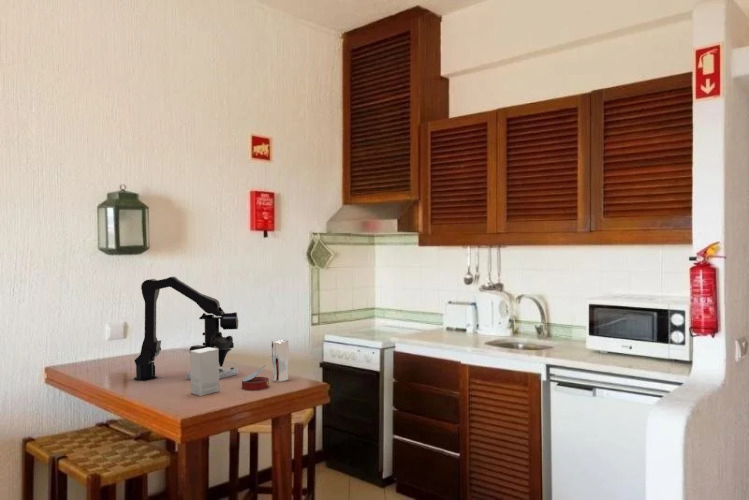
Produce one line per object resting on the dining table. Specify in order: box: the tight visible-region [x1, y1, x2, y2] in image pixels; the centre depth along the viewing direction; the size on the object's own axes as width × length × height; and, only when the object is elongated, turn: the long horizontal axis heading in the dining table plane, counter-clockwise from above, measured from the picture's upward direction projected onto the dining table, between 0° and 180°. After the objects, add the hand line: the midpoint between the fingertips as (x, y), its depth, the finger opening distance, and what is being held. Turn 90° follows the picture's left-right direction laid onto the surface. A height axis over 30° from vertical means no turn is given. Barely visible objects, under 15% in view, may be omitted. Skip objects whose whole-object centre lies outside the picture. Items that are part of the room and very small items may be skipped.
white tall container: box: [270, 339, 290, 383], centre depth 232 cm, size 7×7×15 cm
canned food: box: [241, 365, 270, 391], centre depth 220 cm, size 11×10×10 cm
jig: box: [186, 365, 239, 380], centre depth 241 cm, size 16×12×3 cm
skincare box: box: [189, 347, 220, 397], centre depth 213 cm, size 8×7×16 cm
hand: (212, 368), depth 241 cm, fingers open, 9 cm apart
